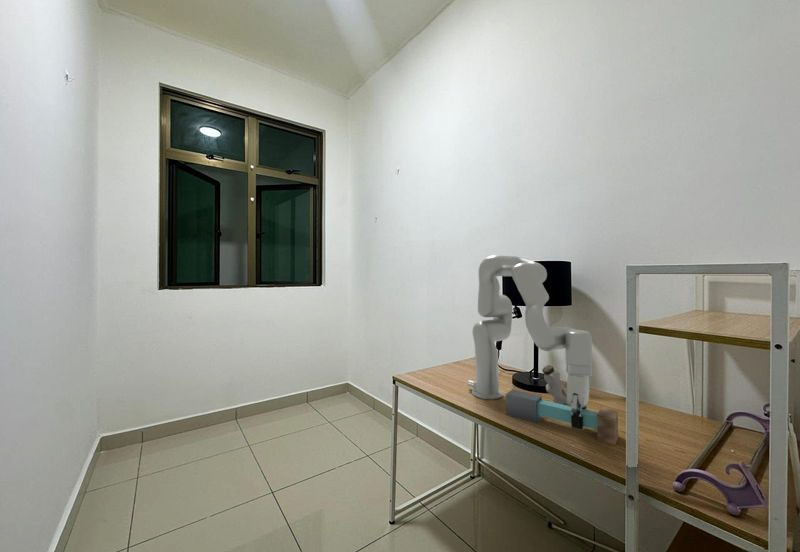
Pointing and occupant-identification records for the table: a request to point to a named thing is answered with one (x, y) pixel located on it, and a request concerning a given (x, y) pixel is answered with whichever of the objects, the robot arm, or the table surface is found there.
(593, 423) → the light blue long bar
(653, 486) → the table surface
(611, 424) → the brown rectangular block
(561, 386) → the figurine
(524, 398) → the sleeve
